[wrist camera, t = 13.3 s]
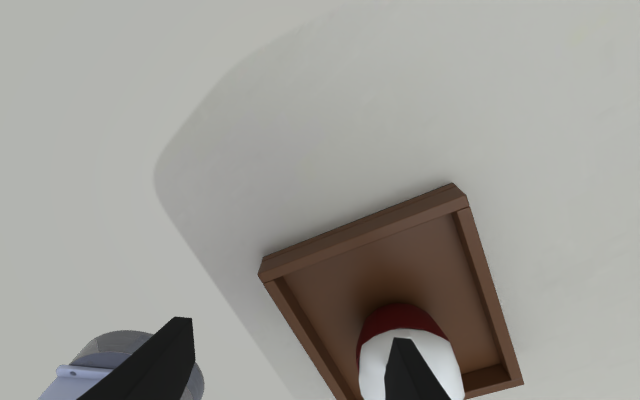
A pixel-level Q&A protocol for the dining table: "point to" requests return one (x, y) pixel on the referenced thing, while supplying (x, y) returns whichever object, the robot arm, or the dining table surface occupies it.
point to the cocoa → (412, 326)
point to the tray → (396, 289)
